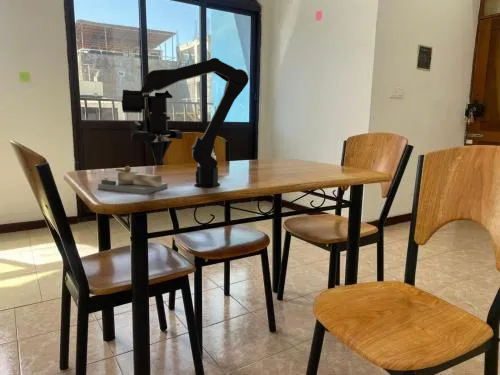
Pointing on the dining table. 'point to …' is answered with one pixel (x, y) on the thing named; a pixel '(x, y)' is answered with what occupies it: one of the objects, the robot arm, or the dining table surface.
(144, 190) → the level stand
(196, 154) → the robot arm
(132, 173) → the cream stepped block
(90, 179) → the dining table surface
